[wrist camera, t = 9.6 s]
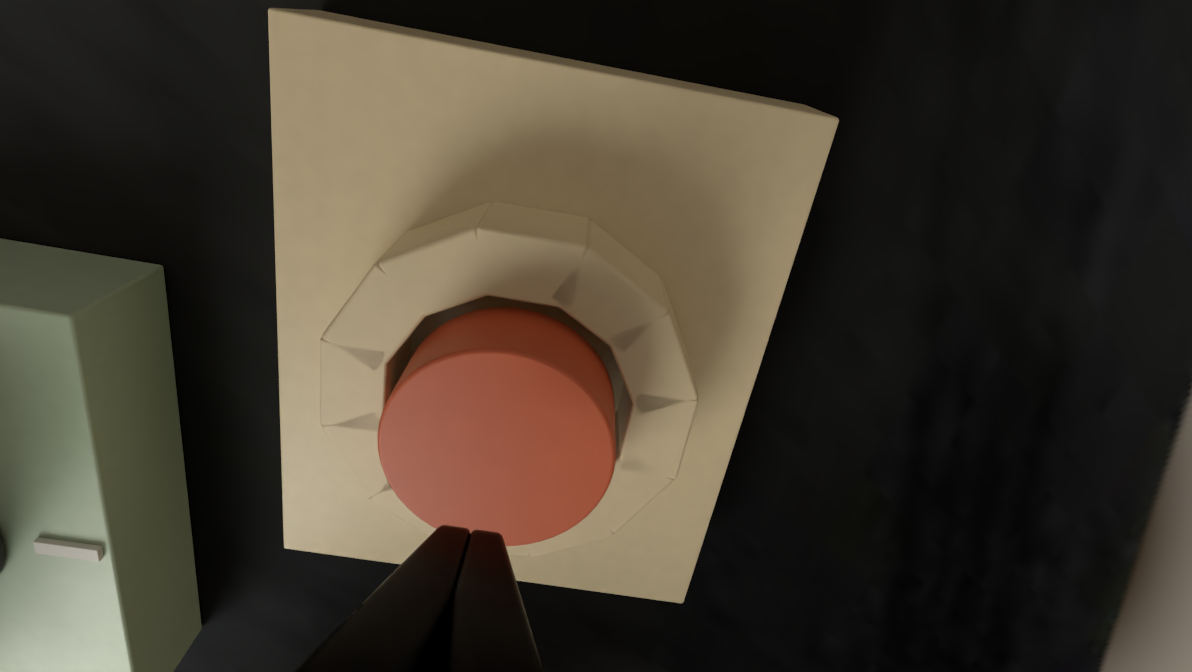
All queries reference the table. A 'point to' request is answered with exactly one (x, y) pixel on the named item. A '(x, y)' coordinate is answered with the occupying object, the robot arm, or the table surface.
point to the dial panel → (90, 468)
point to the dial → (1, 553)
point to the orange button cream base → (524, 268)
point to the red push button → (501, 426)
